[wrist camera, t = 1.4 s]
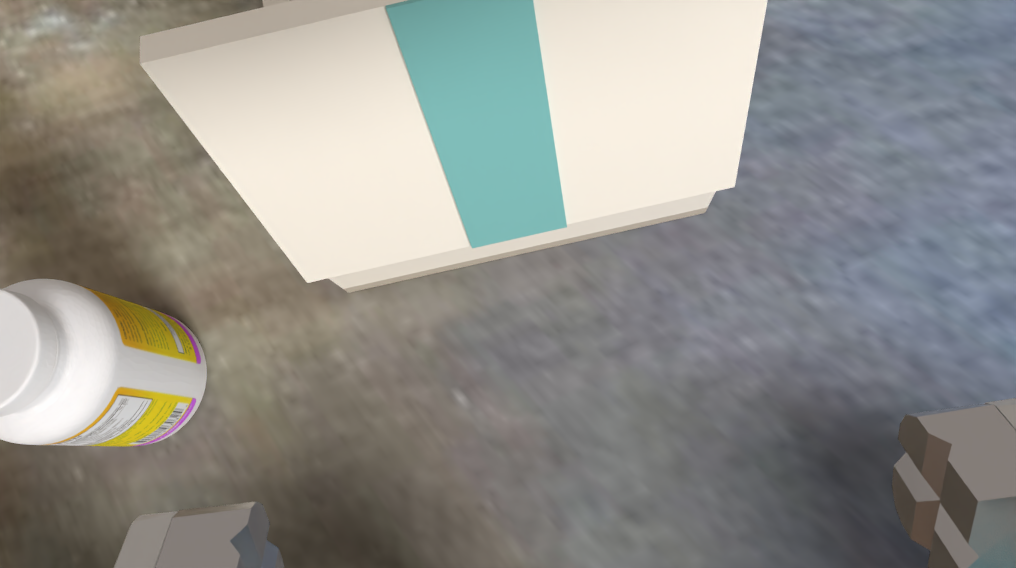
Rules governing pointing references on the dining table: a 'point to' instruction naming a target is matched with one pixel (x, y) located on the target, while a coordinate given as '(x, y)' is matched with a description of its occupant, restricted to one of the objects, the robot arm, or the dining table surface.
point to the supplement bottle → (92, 368)
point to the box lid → (459, 115)
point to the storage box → (521, 239)
